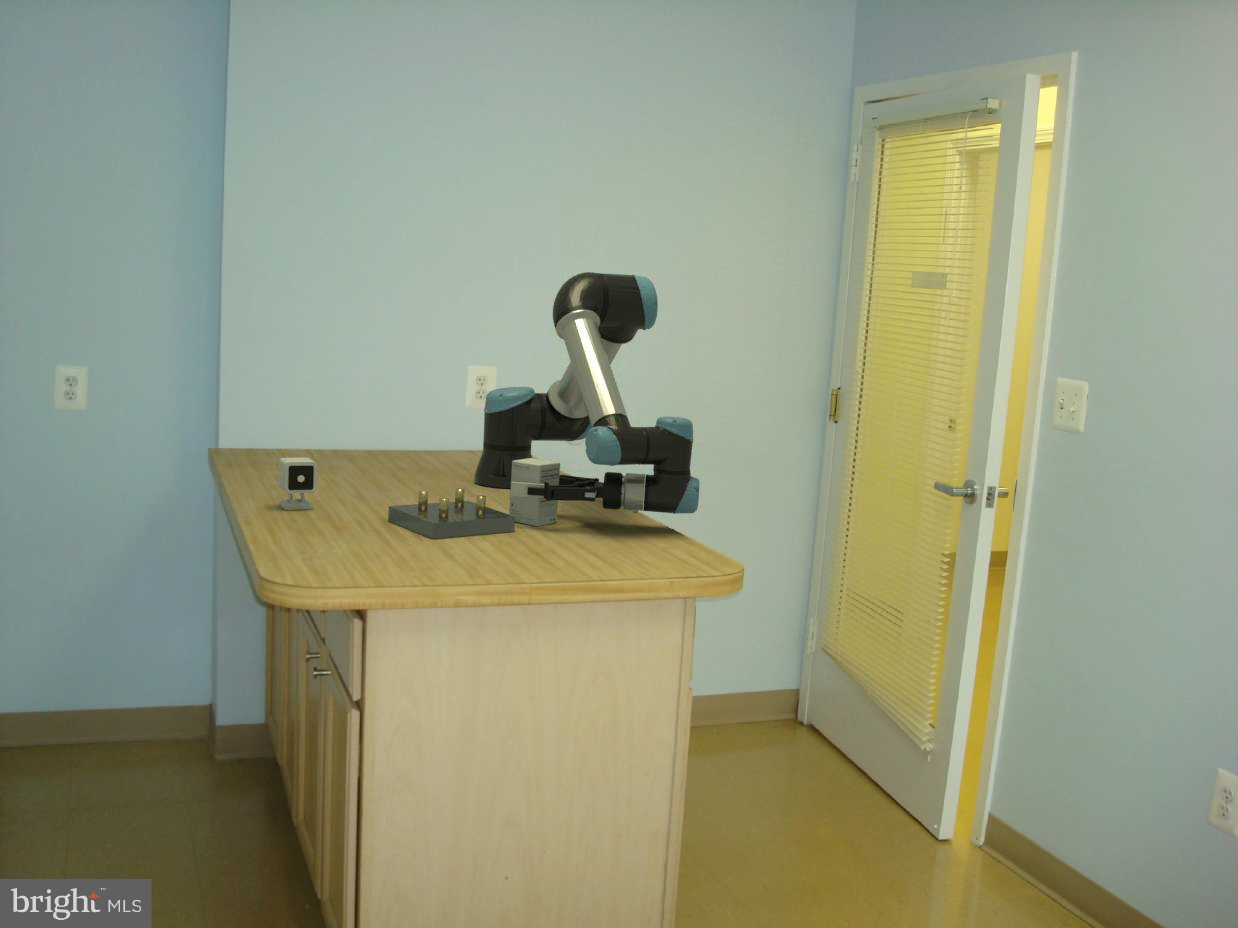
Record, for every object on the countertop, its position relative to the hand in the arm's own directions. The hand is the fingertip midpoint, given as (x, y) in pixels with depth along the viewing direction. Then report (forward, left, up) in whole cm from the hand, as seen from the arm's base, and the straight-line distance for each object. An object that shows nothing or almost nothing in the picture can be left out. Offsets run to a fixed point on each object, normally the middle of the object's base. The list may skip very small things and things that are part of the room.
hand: (514, 484), depth 236 cm
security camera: (+35, -27, -8) cm, 45 cm away
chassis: (+15, +1, -8) cm, 17 cm away
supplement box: (-3, +3, -8) cm, 9 cm away
